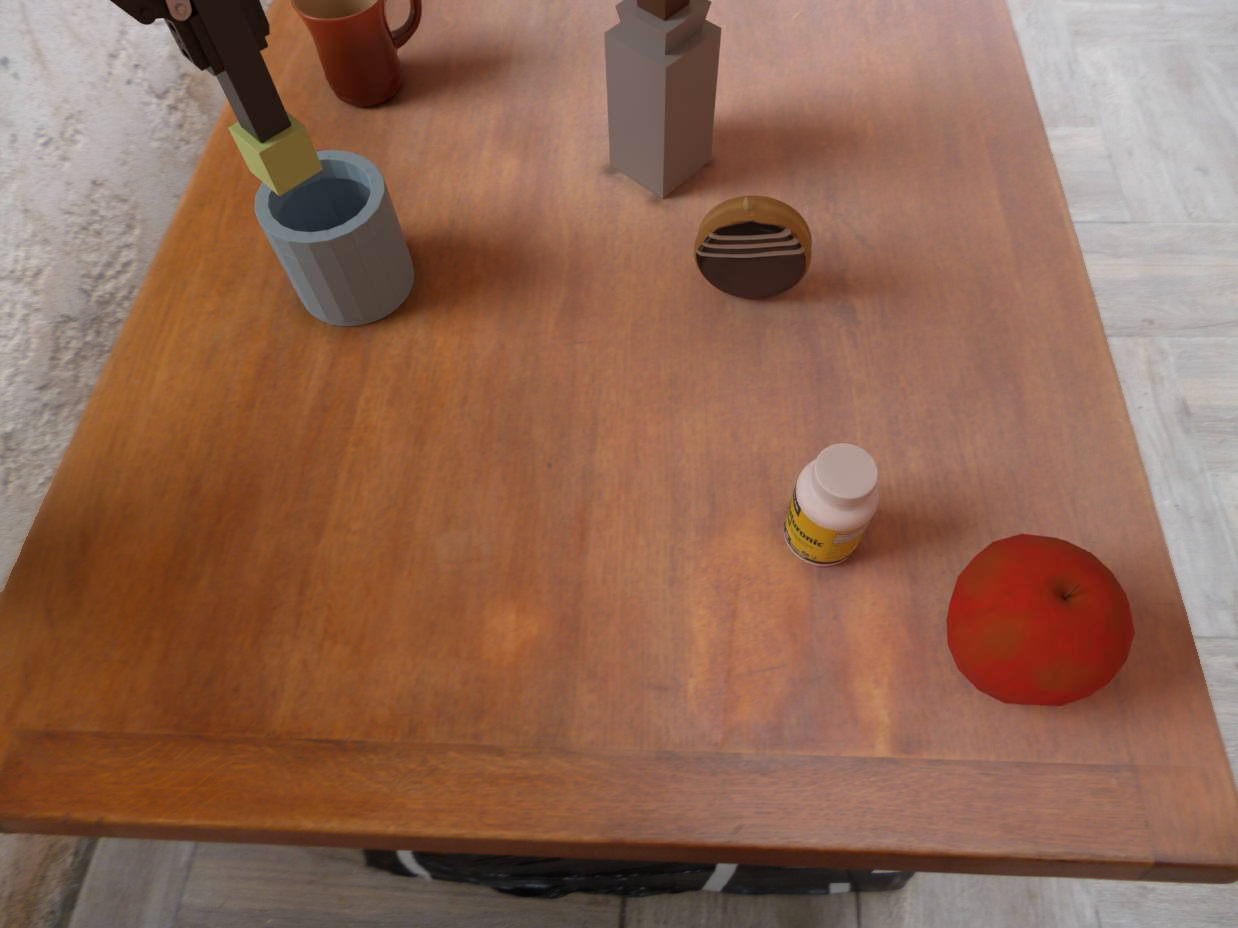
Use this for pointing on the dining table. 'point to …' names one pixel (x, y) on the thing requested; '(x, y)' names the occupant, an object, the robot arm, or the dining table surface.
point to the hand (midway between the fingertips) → (233, 55)
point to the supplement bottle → (832, 505)
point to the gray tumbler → (340, 241)
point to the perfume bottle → (661, 90)
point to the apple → (1038, 622)
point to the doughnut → (753, 247)
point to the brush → (256, 102)
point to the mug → (358, 46)
